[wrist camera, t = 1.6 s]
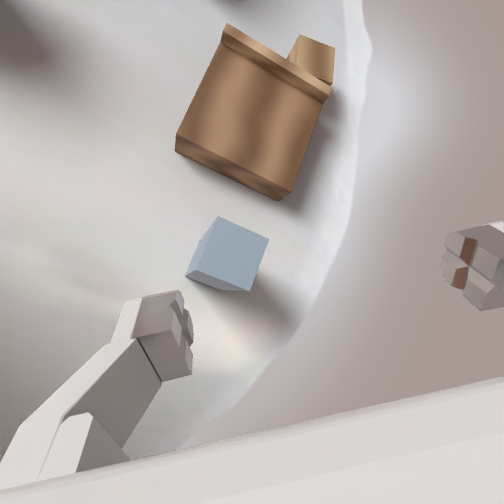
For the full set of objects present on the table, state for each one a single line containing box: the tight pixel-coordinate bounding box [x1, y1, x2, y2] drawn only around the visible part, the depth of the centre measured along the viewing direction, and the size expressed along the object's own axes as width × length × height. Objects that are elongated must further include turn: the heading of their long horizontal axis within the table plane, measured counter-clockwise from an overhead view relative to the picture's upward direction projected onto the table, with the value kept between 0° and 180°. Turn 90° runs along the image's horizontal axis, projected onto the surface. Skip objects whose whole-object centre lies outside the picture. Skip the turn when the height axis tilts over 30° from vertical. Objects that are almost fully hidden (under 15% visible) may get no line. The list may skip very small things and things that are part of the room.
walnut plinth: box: [175, 23, 332, 201], centre depth 35 cm, size 14×14×6 cm
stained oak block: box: [286, 35, 335, 86], centre depth 38 cm, size 5×5×5 cm
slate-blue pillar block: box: [185, 216, 269, 291], centre depth 28 cm, size 4×4×12 cm
